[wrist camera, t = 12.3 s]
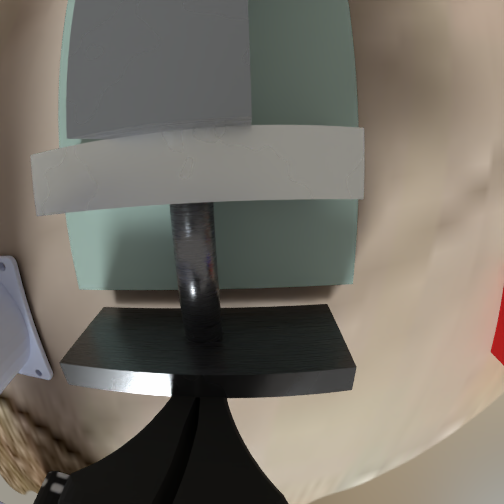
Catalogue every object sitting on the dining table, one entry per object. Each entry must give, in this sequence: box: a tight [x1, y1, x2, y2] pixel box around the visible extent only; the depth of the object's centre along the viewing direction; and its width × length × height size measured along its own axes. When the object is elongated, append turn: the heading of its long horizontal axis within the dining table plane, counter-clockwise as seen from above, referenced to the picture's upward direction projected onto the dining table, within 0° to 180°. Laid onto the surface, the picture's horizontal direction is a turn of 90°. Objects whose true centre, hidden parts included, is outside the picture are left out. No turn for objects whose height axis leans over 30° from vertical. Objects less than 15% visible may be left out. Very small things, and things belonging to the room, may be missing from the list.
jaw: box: [31, 125, 364, 398], centre depth 10 cm, size 10×8×4 cm
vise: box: [59, 0, 358, 290], centre depth 9 cm, size 12×18×4 cm, turn 2°
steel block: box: [66, 0, 252, 140], centre depth 7 cm, size 4×8×6 cm, turn 2°
